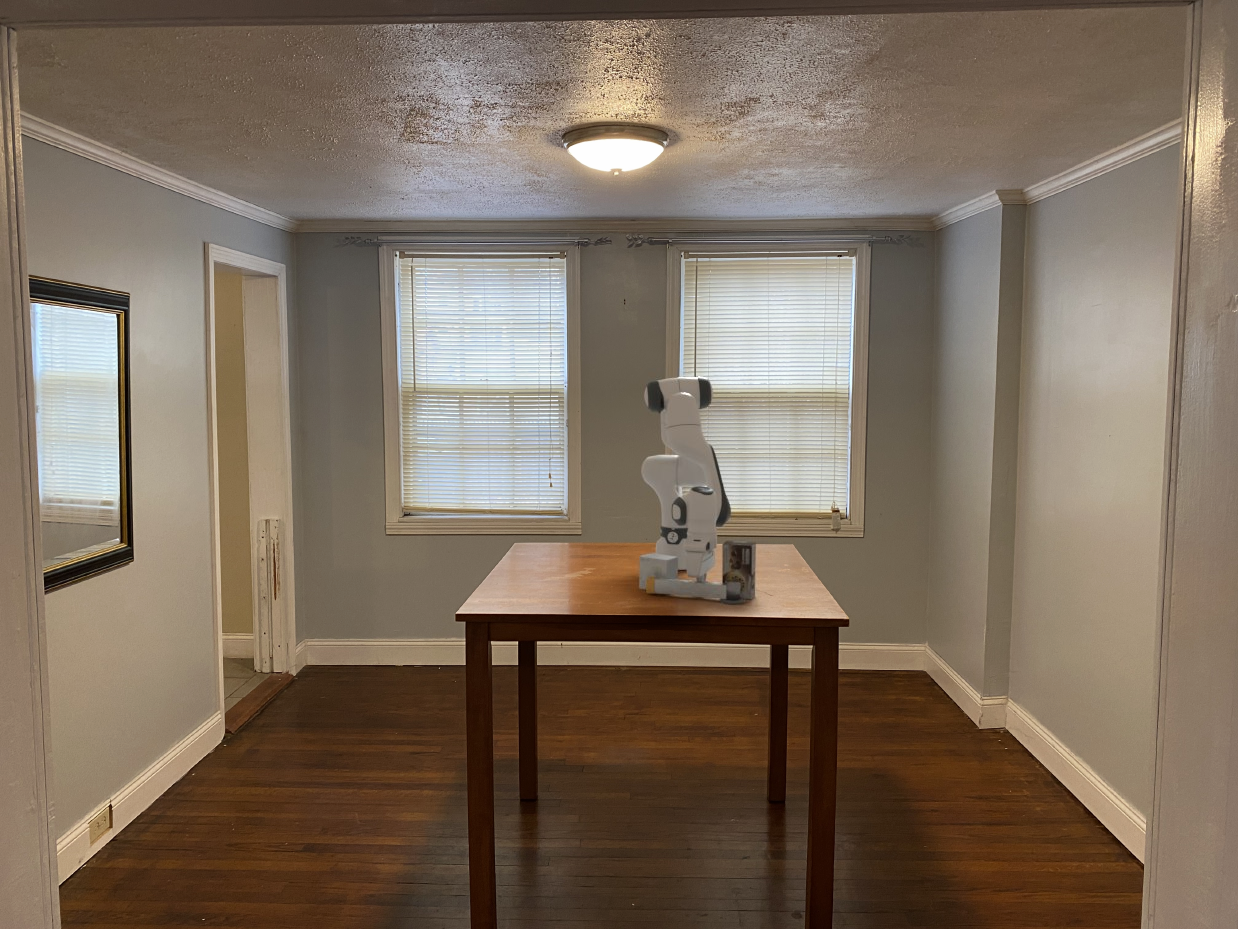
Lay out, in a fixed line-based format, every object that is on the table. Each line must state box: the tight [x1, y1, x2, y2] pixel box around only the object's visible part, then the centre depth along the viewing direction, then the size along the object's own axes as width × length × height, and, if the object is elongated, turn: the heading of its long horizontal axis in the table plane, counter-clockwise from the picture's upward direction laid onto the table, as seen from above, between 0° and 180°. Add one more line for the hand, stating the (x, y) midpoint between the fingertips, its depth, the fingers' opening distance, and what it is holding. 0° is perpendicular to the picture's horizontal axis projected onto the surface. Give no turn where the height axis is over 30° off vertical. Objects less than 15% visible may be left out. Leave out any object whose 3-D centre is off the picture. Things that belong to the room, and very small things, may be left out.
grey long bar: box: [645, 576, 741, 600], centre depth 261 cm, size 28×4×5 cm, turn 70°
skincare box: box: [638, 552, 679, 590], centre depth 272 cm, size 10×6×10 cm, turn 53°
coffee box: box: [721, 540, 757, 600], centre depth 264 cm, size 9×6×16 cm
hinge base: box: [720, 597, 746, 606], centre depth 257 cm, size 7×7×1 cm
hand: (701, 587), depth 266 cm, fingers closed
